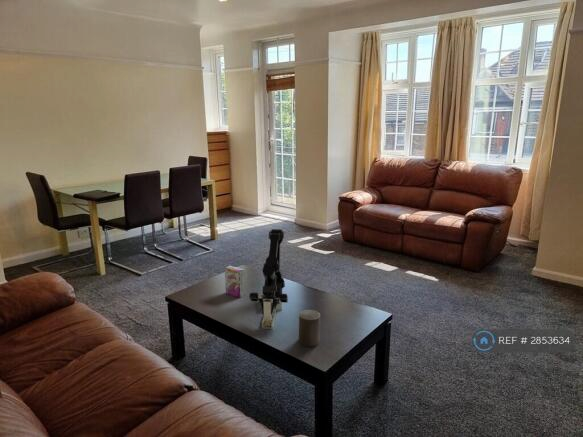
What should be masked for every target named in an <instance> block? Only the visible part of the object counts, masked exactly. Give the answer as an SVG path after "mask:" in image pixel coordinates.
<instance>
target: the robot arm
mask: <svg viewBox="0 0 583 437" xmlns="http://www.w3.org/2000/svg"><path fill="white" fill-rule="evenodd" d="M284 239H285V231H283V229H278V228H274V229H271V230H269V231H268V240H269V251H268V257H267V258H265V262H264V264H263V267H262V275H263V277H264V285H262V294H259V292H250V293H249V300H250V302H257V303H258V304H260V307H261V311H262V312H261V313H262V315H264V299H273V303H272V308H271V315H272V313H273V311H275V310H274V309H275V307H276V306H277V304H280V302H279V301H281V302H283V304H284V303H288V300H289V297H288V294H287V293H283V289H284V288H285V286H286V283H285V280H284V277H283V274H282V271H281V270H280V269H281V266H280V264H281V244H282V242H283V241H284Z"/></svg>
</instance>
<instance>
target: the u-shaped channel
mask: <svg viewBox="0 0 583 437" xmlns="http://www.w3.org/2000/svg"><path fill="white" fill-rule="evenodd" d="M276 317H277V310H274V314H273V318H272V322H271V326H265V325H264V317H263V319H262V321H261V329H268V330H269V329H270V330H273V329H274V324H275V320H276Z"/></svg>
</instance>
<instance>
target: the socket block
mask: <svg viewBox="0 0 583 437" xmlns="http://www.w3.org/2000/svg"><path fill="white" fill-rule="evenodd" d="M270 300H271V306H272V303H273V299H270ZM279 302H280V304H277V306H276V307H275V309H274V311H275V310H276V311H283V307H284V302H281V301H279Z"/></svg>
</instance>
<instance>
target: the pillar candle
mask: <svg viewBox="0 0 583 437" xmlns="http://www.w3.org/2000/svg"><path fill="white" fill-rule="evenodd" d="M298 314H299V315H298V316H299V317H298V343H299V344H300V345H301V346H302V347H305V348H306V347H307V348H315V347H316V346H319V344H320V337H321V336H320V335H321V333H320V328H321V313H320V312H318V311H317V310H312V309H305V310H302V311H300V312H299V313H298Z"/></svg>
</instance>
